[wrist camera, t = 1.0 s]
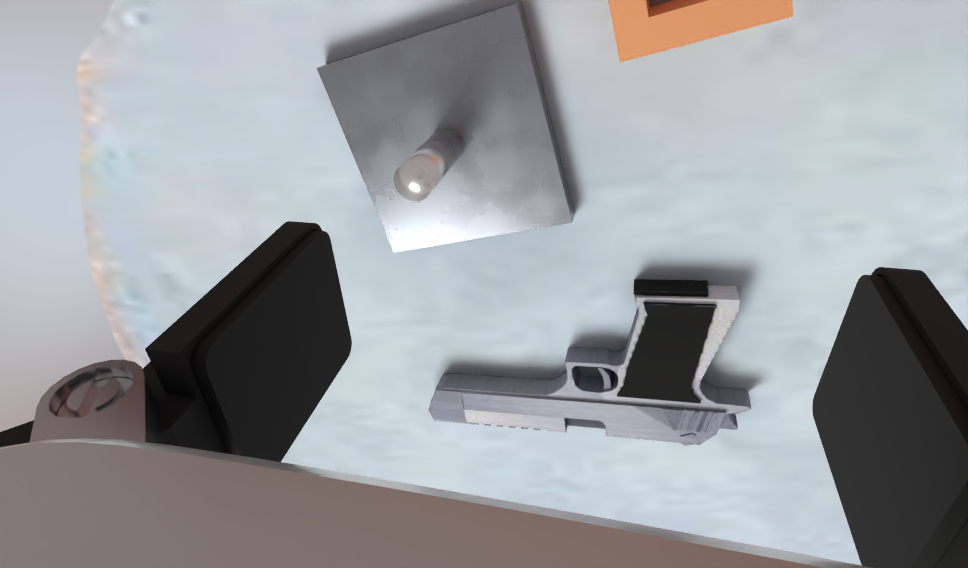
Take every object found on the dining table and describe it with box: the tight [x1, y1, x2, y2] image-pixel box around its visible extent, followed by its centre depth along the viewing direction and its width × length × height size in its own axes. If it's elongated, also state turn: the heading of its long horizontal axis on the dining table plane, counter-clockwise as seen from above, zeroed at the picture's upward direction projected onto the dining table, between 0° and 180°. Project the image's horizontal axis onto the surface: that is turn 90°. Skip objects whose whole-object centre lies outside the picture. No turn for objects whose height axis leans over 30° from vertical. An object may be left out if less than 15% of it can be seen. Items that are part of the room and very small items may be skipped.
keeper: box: [317, 1, 574, 253], centre depth 31 cm, size 12×12×6 cm
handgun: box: [428, 280, 751, 445], centre depth 39 cm, size 2×22×12 cm
